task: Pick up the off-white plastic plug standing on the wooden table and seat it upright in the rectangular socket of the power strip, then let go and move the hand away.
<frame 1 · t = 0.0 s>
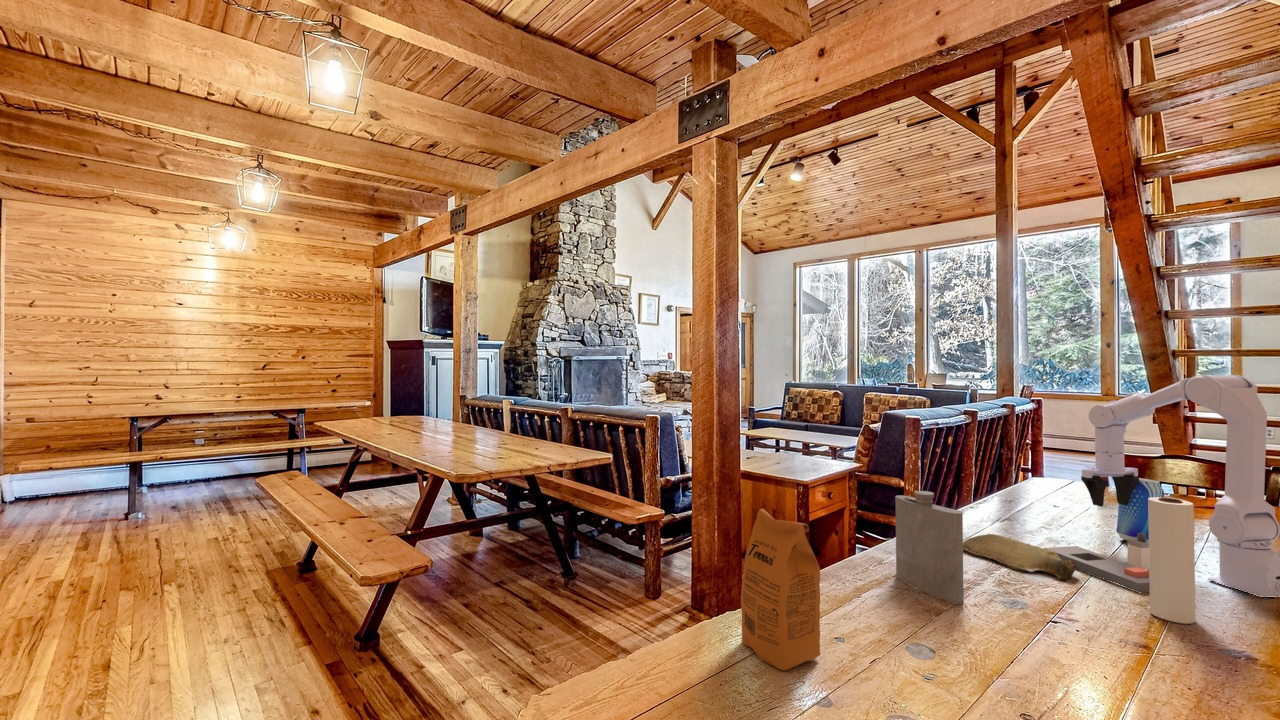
hand: (1110, 504, 142), 10 cm above the table, tool pointing down, fingers open, 7 cm apart
plug: (1142, 567, 126), on the table
coffee package: (778, 652, 90), on the table
hip flask: (926, 589, 115), on the table
stone tool: (1015, 563, 130), on the table
paper towel roll: (1174, 618, 101), on the table
power strip: (1104, 571, 123), on the table
beer can: (1137, 541, 143), on the table, touching gripper
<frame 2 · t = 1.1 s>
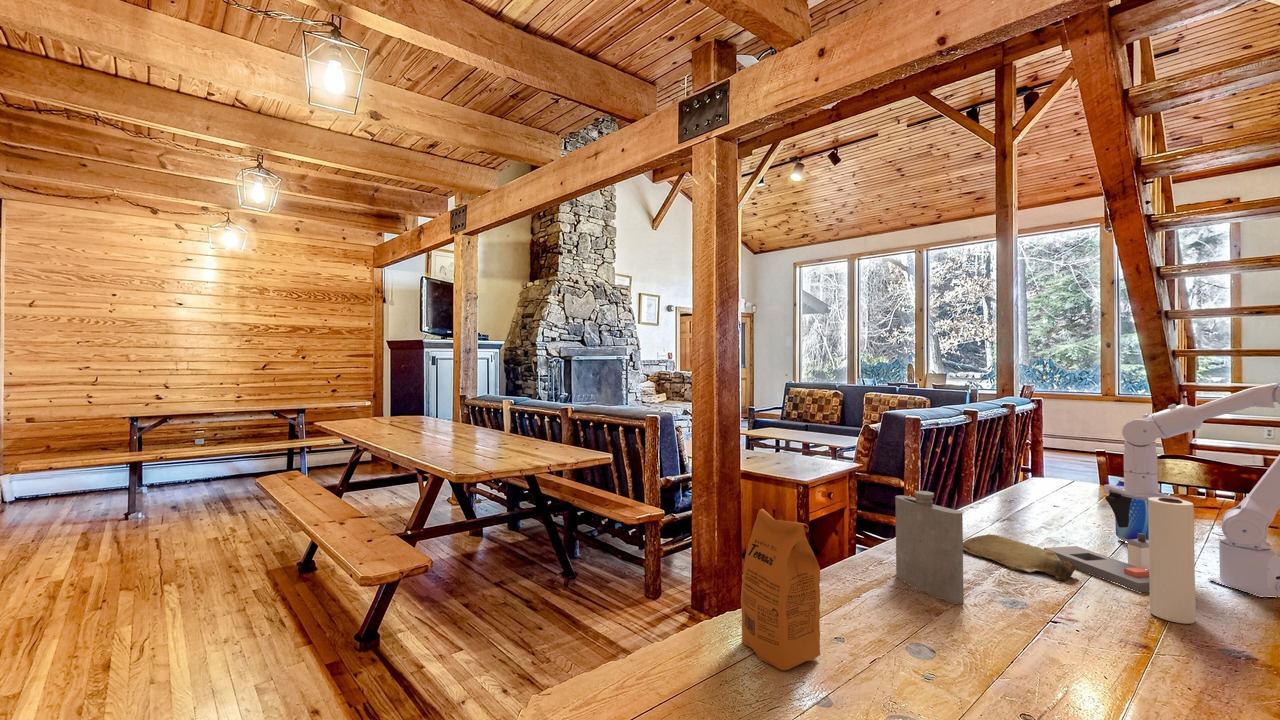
hand: (1141, 531, 126), 8 cm above the table, tool pointing down, fingers open, 7 cm apart
beer can: (1137, 543, 143), on the table
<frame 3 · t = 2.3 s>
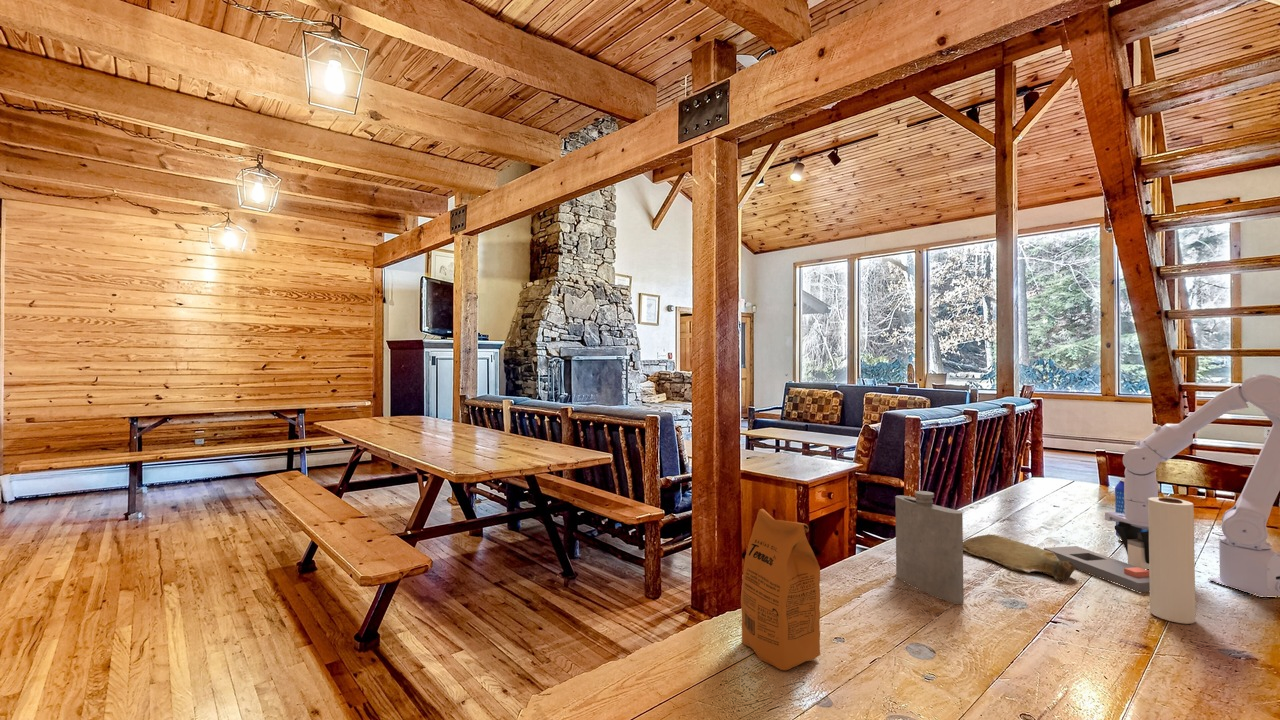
hand: (1142, 560, 126), 2 cm above the table, tool pointing down, fingers closed on plug, 3 cm apart
plug: (1142, 567, 126), on the table, touching gripper
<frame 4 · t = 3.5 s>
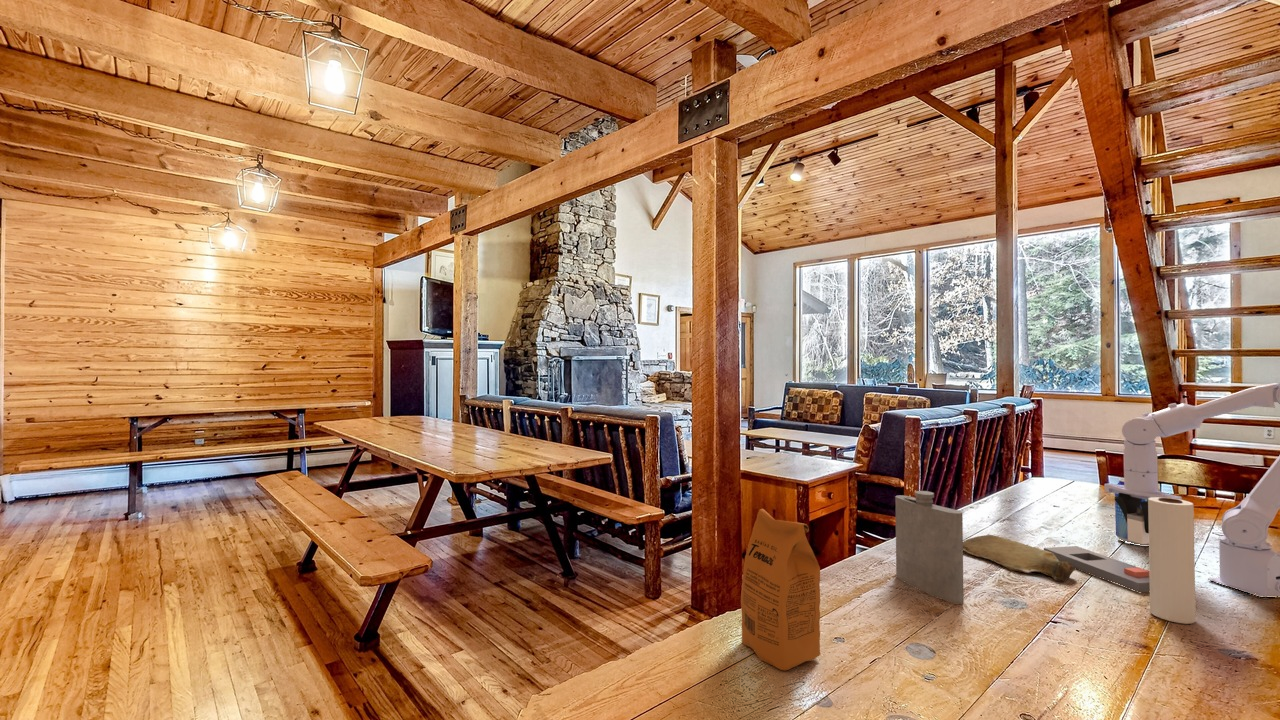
hand: (1141, 530, 126), 8 cm above the table, tool pointing down, fingers closed on plug, 3 cm apart
plug: (1141, 541, 126), point 6 cm above the table, touching gripper
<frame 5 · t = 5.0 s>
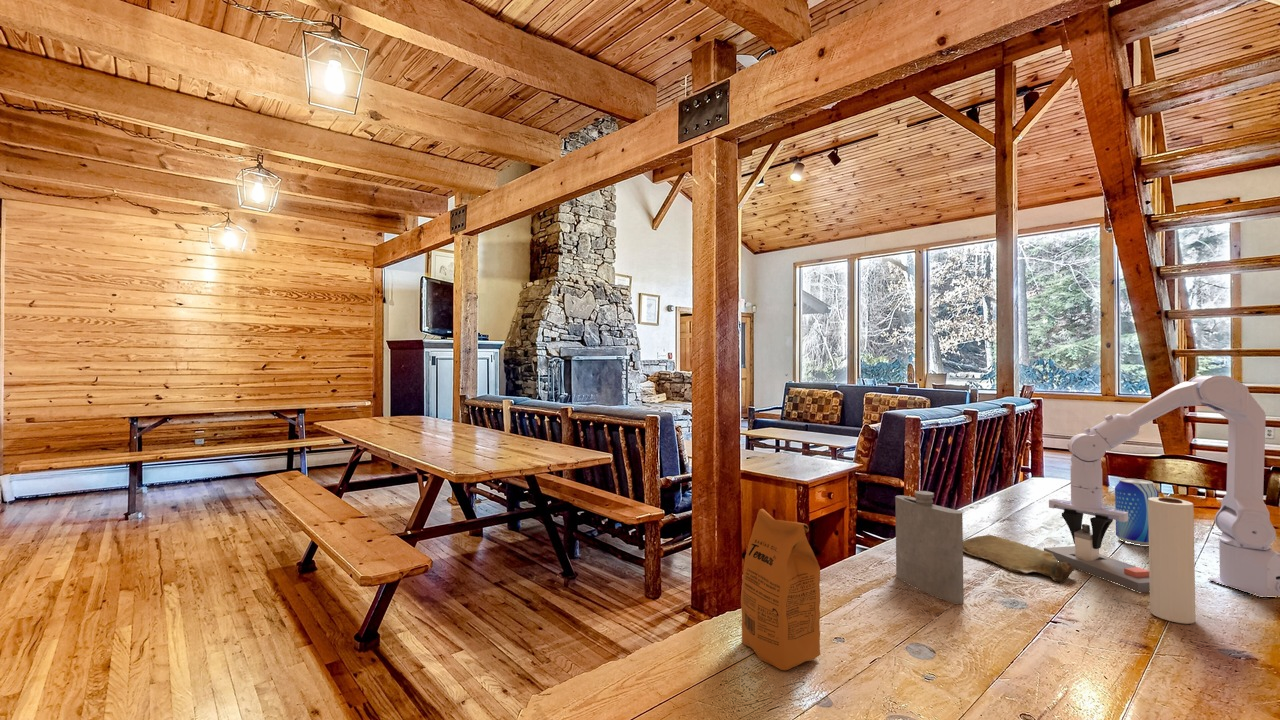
hand: (1087, 545, 127), 5 cm above the table, tool pointing down, fingers closed on plug, 3 cm apart
plug: (1087, 557, 127), point 2 cm above the table, tilted 6°, touching gripper, power strip
when the fingers open (3 cm above the table, at t = 5.6 s): plug drops 1 cm, resting in power strip.
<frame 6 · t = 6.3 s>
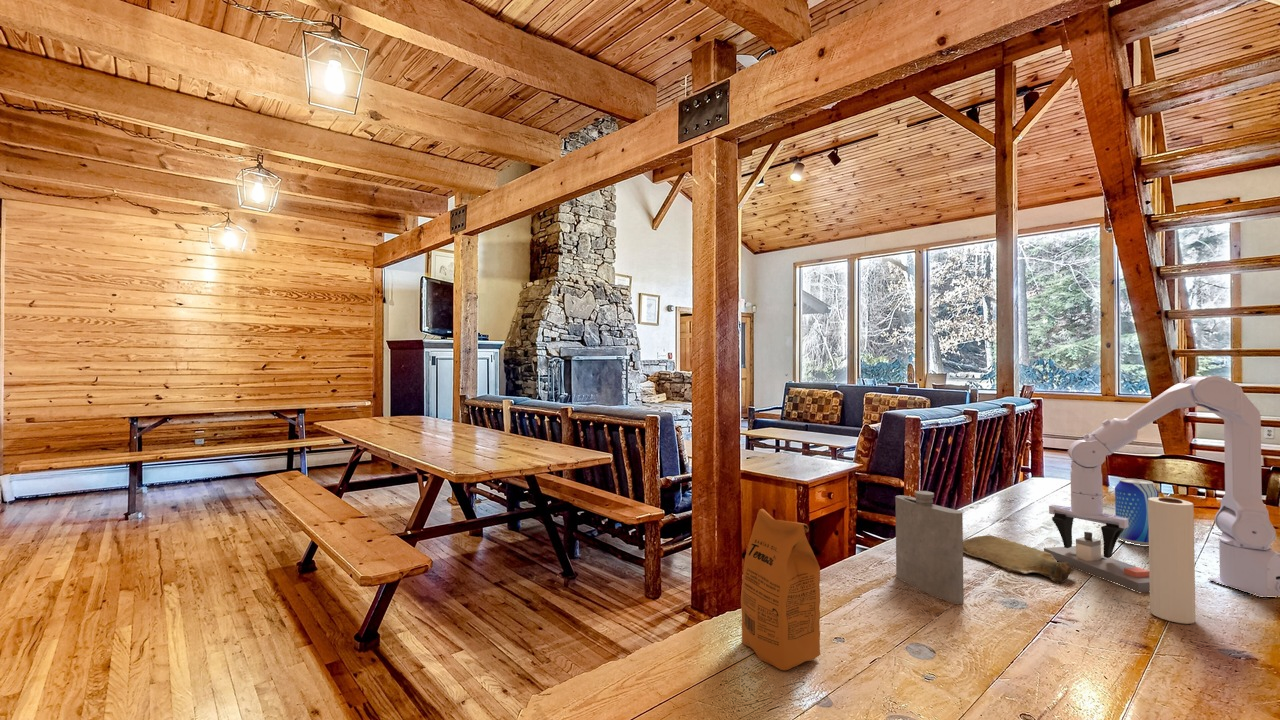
hand: (1087, 551, 127), 3 cm above the table, tool pointing down, fingers open, 7 cm apart
plug: (1088, 565, 127), resting in power strip
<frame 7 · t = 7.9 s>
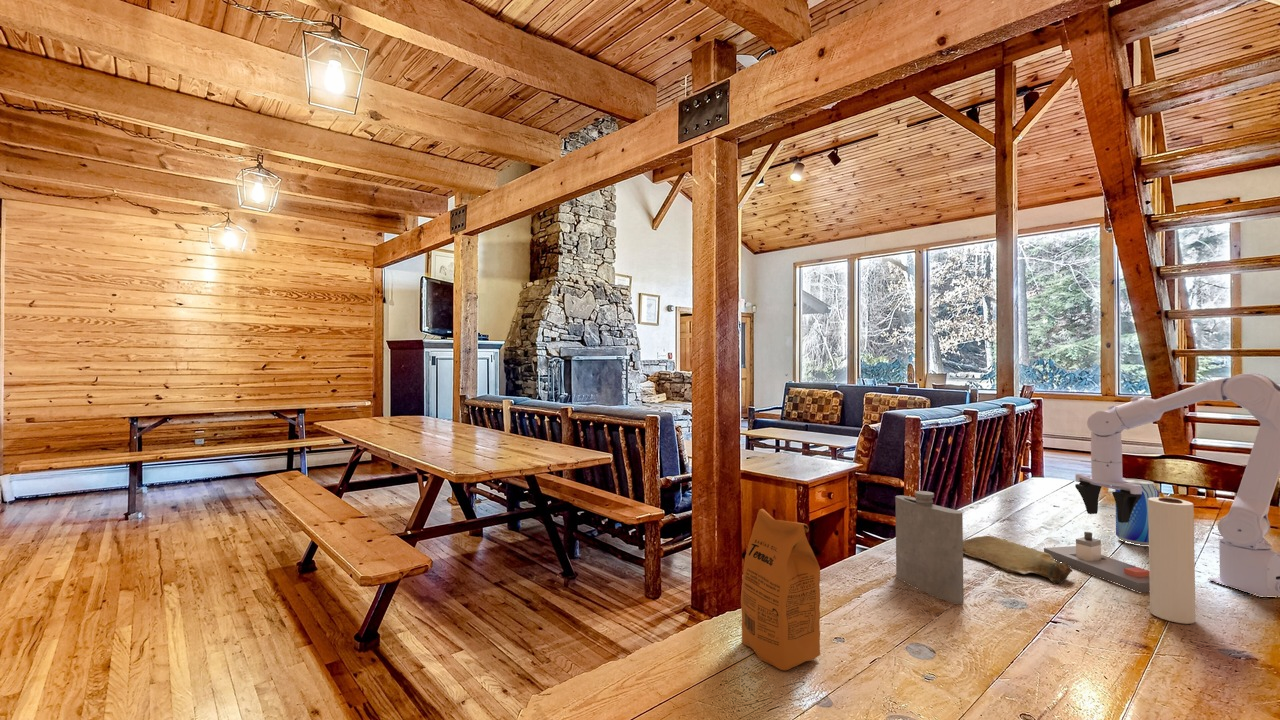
hand: (1107, 517, 133), 9 cm above the table, tool pointing down, fingers open, 7 cm apart
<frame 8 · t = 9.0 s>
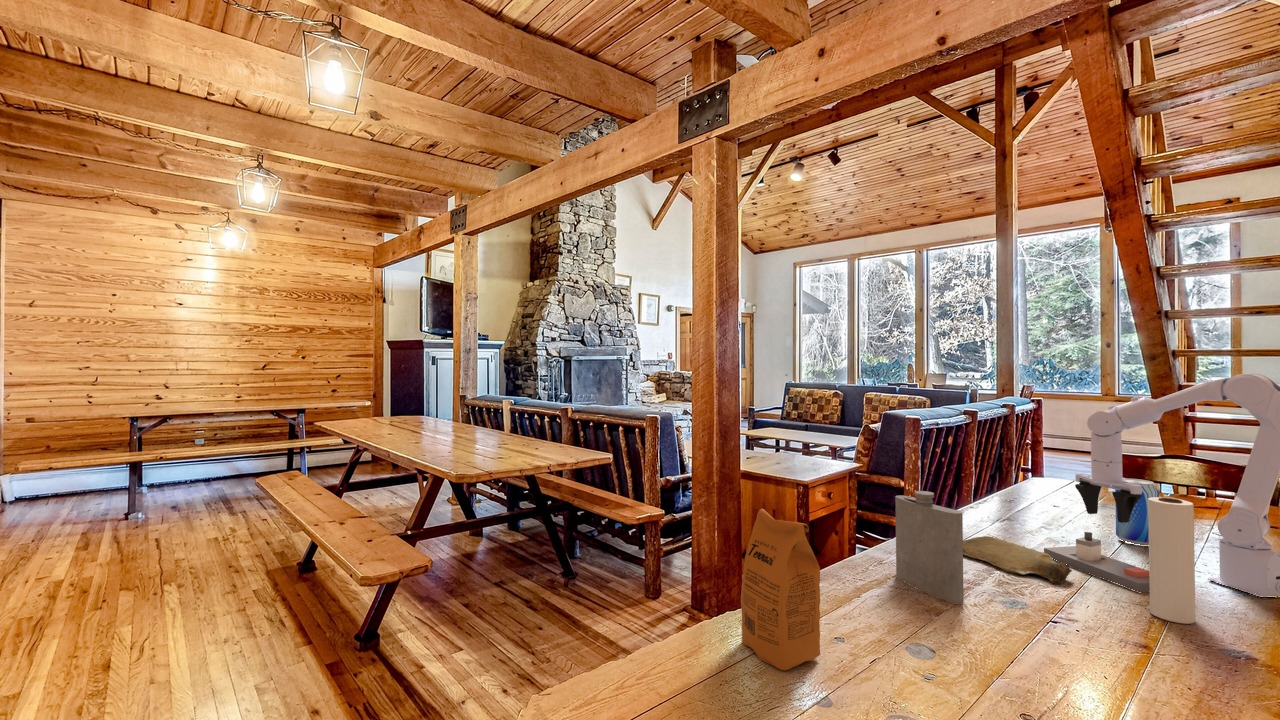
hand: (1107, 517, 133), 9 cm above the table, tool pointing down, fingers open, 7 cm apart
at the end: plug 0.2 cm from the target spot on the power strip, point 0.0 cm above the power strip's base; plug tilted 0°; the gripper is holding nothing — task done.
